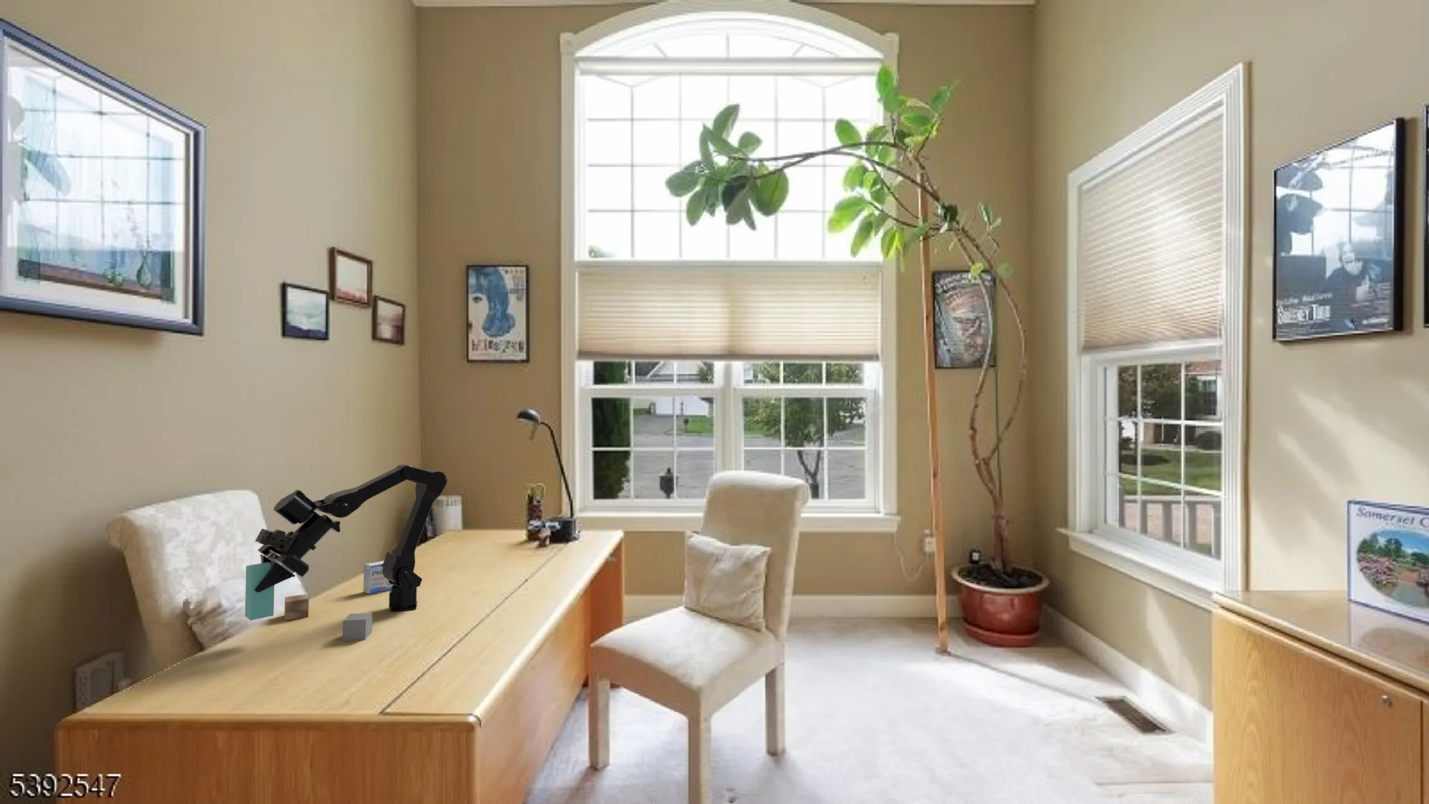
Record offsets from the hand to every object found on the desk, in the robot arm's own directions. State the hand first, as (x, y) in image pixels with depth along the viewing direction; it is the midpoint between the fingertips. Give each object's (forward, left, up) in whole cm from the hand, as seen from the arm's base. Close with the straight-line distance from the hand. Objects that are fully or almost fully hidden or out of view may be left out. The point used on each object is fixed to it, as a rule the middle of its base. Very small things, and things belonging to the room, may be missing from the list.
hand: (252, 589), depth 144 cm
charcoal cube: (-22, +3, -13) cm, 26 cm away
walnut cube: (-5, -19, -13) cm, 23 cm away
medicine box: (-23, -37, -13) cm, 45 cm away
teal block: (-1, -1, -7) cm, 7 cm away
